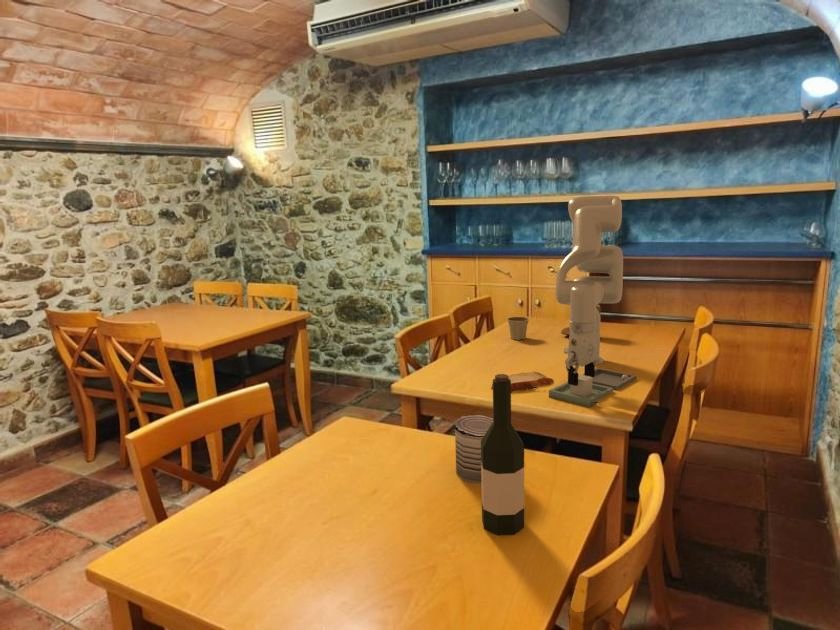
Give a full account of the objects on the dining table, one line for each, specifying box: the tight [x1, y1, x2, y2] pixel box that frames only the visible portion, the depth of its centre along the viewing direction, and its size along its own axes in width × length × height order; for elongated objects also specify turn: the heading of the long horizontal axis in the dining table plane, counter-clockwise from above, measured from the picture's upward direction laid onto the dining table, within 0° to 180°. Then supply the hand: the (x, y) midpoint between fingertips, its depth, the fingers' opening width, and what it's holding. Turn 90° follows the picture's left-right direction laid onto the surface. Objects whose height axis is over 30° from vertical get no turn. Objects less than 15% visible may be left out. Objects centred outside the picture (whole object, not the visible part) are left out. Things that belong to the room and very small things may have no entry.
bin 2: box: [582, 367, 638, 391], centre depth 194 cm, size 14×14×3 cm
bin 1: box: [548, 381, 614, 408], centre depth 183 cm, size 14×14×2 cm
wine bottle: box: [480, 373, 525, 536], centre depth 112 cm, size 8×8×30 cm
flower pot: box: [506, 316, 530, 341], centre depth 254 cm, size 9×9×9 cm
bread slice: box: [490, 371, 554, 392], centre depth 194 cm, size 18×18×4 cm
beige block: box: [570, 373, 593, 396], centre depth 182 cm, size 5×4×5 cm
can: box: [452, 414, 493, 485], centre depth 135 cm, size 11×11×12 cm
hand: (581, 380), depth 182 cm, fingers open, 9 cm apart
